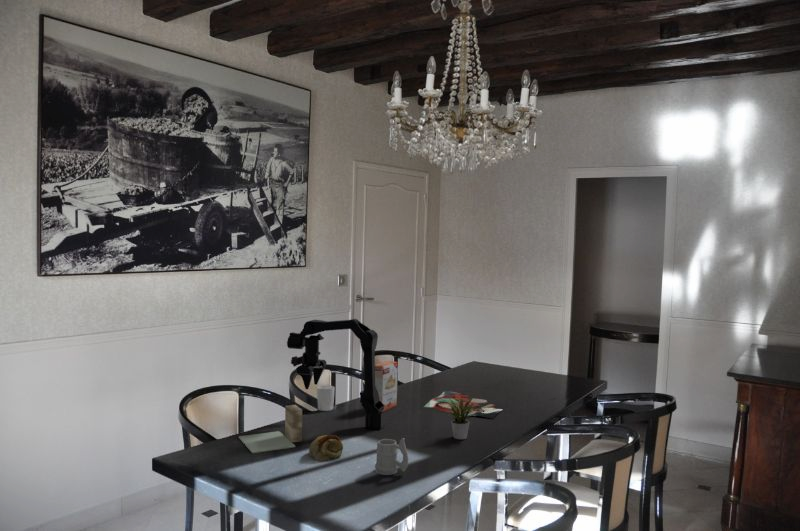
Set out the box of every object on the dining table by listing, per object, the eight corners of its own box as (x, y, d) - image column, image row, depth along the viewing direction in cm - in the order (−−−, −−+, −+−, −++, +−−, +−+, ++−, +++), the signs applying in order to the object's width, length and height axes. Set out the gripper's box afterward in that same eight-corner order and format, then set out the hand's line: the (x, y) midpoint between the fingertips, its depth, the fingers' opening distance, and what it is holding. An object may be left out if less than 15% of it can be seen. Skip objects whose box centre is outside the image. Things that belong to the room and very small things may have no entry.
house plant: (485, 434, 247) (485, 393, 247) (477, 444, 234) (478, 401, 234) (450, 430, 252) (451, 390, 252) (441, 440, 239) (442, 398, 239)
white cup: (331, 411, 277) (331, 389, 277) (314, 410, 279) (314, 388, 278) (336, 407, 285) (336, 385, 284) (320, 406, 286) (320, 384, 286)
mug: (381, 465, 210) (382, 430, 210) (413, 472, 205) (413, 436, 205) (370, 472, 204) (371, 436, 203) (402, 479, 198) (403, 442, 198)
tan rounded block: (294, 435, 242) (295, 404, 242) (301, 441, 235) (302, 409, 235) (285, 436, 240) (285, 405, 240) (291, 442, 233) (292, 410, 233)
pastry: (328, 464, 211) (328, 441, 211) (300, 457, 218) (300, 434, 217) (352, 453, 223) (352, 431, 223) (325, 446, 230) (325, 425, 229)
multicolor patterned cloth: (418, 410, 283) (419, 406, 283) (445, 394, 315) (445, 391, 315) (492, 420, 269) (492, 416, 269) (512, 402, 301) (512, 398, 301)
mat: (279, 432, 246) (279, 431, 246) (295, 447, 228) (295, 445, 228) (238, 437, 238) (238, 436, 238) (252, 453, 220) (252, 452, 220)
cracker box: (382, 412, 277) (383, 366, 276) (371, 411, 280) (371, 364, 279) (397, 406, 289) (398, 361, 289) (386, 404, 292) (387, 360, 291)
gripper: (303, 345, 272) (302, 380, 272) (284, 352, 254) (283, 390, 255) (327, 347, 269) (326, 382, 270) (309, 354, 251) (309, 392, 252)
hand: (311, 386), depth 261 cm, fingers open, 9 cm apart
